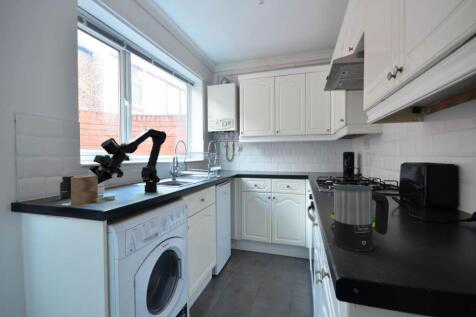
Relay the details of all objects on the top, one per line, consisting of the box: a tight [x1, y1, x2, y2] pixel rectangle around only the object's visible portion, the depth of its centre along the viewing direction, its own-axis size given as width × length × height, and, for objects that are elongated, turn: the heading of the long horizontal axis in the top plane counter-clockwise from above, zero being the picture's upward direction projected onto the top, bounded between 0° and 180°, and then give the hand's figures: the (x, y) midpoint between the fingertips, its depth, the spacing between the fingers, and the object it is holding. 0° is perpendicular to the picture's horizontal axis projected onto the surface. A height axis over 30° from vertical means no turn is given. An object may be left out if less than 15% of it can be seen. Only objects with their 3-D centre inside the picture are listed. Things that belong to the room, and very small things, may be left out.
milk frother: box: [330, 184, 390, 252], centre depth 60 cm, size 14×16×15 cm
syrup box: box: [88, 169, 106, 195], centre depth 126 cm, size 6×6×14 cm
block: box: [70, 175, 99, 206], centre depth 100 cm, size 8×6×12 cm
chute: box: [60, 193, 122, 208], centre depth 103 cm, size 19×14×3 cm
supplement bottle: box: [58, 175, 75, 200], centre depth 114 cm, size 7×7×12 cm
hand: (94, 184), depth 104 cm, fingers closed, pressing on block
